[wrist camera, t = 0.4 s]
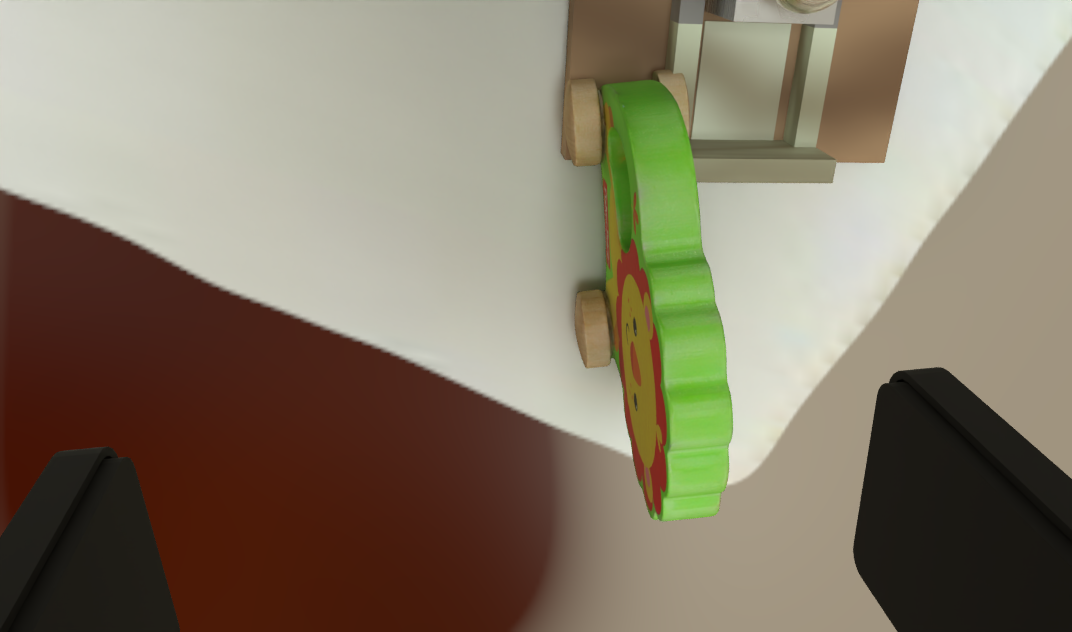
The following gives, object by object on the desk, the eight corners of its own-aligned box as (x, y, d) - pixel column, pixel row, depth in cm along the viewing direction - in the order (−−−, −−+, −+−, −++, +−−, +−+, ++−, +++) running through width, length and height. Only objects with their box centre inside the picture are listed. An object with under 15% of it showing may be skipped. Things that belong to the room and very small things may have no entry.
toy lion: (555, 71, 38) (604, 152, 24) (678, 60, 38) (796, 134, 25) (576, 388, 45) (623, 594, 31) (681, 377, 45) (775, 578, 31)
